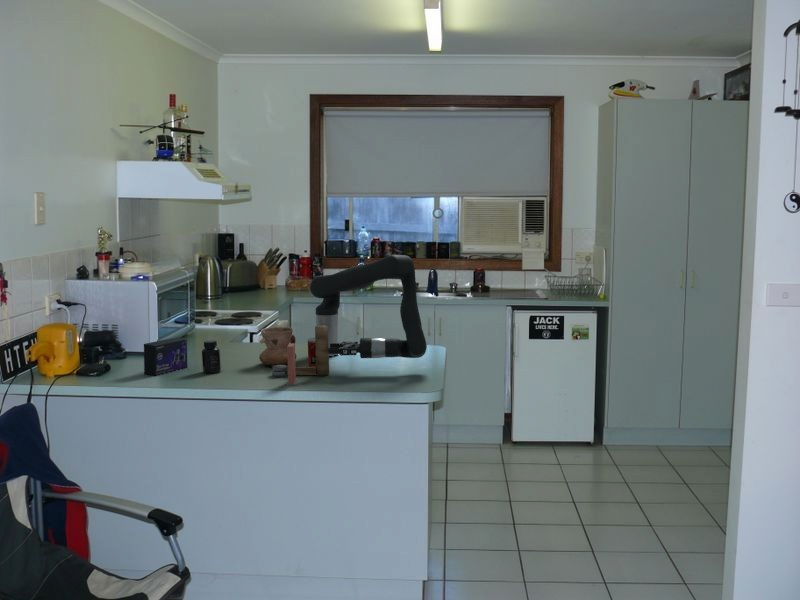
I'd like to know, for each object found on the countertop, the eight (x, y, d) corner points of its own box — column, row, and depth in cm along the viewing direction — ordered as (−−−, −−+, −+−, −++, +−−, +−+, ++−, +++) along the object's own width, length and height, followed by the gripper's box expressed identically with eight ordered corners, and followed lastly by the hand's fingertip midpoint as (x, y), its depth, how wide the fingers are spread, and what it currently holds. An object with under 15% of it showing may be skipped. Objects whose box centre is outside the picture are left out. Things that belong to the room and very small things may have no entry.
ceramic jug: (273, 370, 342) (272, 334, 340) (249, 365, 351) (248, 330, 349) (308, 362, 355) (307, 327, 353) (284, 358, 365) (283, 324, 363)
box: (156, 376, 334) (154, 345, 333) (143, 374, 338) (142, 343, 336) (188, 368, 349) (187, 338, 347) (176, 366, 352) (175, 336, 351)
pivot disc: (272, 374, 335) (272, 368, 335) (288, 373, 335) (288, 368, 335) (270, 377, 330) (270, 372, 329) (286, 377, 330) (286, 372, 329)
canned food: (310, 369, 343) (309, 341, 341) (306, 365, 350) (306, 337, 349) (329, 368, 345) (329, 340, 343) (326, 364, 352) (325, 336, 351)
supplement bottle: (222, 370, 344) (221, 339, 342) (219, 374, 337) (218, 342, 335) (204, 370, 344) (203, 339, 342) (201, 374, 337) (199, 343, 335)
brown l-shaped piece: (273, 373, 335) (272, 326, 333) (329, 372, 335) (328, 325, 333) (271, 376, 330) (270, 328, 327) (328, 375, 330) (327, 327, 327)
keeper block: (289, 381, 323) (287, 343, 321) (297, 381, 323) (296, 343, 321) (286, 385, 316) (285, 346, 314) (295, 385, 316) (294, 346, 314)
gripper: (373, 334, 338) (330, 335, 338) (372, 341, 324) (327, 342, 324) (373, 354, 339) (330, 354, 339) (372, 361, 325) (328, 362, 325)
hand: (329, 348), depth 331 cm, fingers open, 8 cm apart
